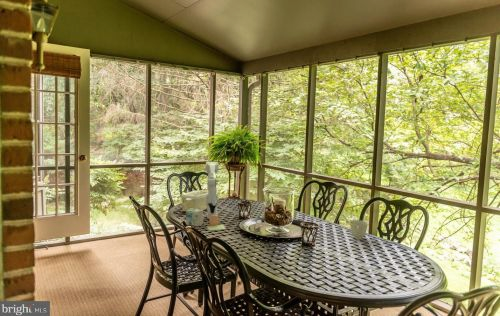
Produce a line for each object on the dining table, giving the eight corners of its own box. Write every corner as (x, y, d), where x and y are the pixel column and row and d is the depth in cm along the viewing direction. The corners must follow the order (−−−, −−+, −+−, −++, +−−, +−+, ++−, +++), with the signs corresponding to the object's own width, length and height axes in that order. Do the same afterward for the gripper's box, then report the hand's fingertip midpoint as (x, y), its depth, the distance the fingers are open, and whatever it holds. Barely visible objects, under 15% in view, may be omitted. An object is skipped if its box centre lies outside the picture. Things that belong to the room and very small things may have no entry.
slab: (209, 224, 255) (209, 215, 254) (217, 224, 257) (217, 214, 256) (210, 225, 252) (210, 216, 251) (218, 225, 254) (218, 215, 253)
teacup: (347, 241, 220) (347, 225, 219) (349, 234, 234) (349, 219, 233) (367, 243, 216) (368, 227, 215) (368, 236, 230) (368, 221, 229)
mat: (206, 226, 250) (206, 226, 250) (222, 225, 254) (222, 224, 254) (209, 230, 241) (209, 230, 240) (226, 229, 244) (226, 228, 244)
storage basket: (198, 205, 313) (198, 189, 311) (213, 207, 305) (213, 191, 303) (180, 211, 292) (180, 194, 291) (195, 214, 284) (195, 196, 283)
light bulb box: (186, 224, 255) (185, 210, 254) (190, 222, 261) (190, 208, 260) (198, 226, 251) (198, 211, 250) (203, 223, 257) (203, 209, 256)
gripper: (205, 193, 263) (205, 211, 264) (208, 197, 249) (208, 215, 250) (214, 192, 265) (214, 210, 266) (218, 196, 251) (218, 215, 253)
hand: (212, 213), depth 259 cm, fingers closed
